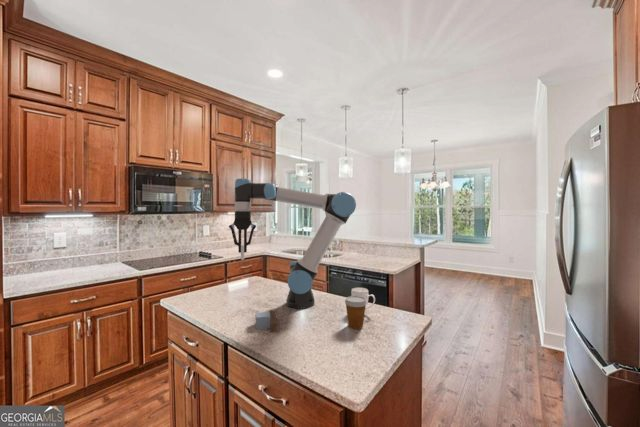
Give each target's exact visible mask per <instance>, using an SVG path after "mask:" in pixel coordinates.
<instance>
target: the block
mask: <svg viewBox="0 0 640 427" xmlns="http://www.w3.org/2000/svg"><path fill="white" fill-rule="evenodd" d="M261 328H262V329H263V328H264V329H270V312H269V311H261V312H260V311H259V312H255V330H262V329H261Z"/></svg>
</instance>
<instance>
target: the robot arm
mask: <svg viewBox="0 0 640 427" xmlns="http://www.w3.org/2000/svg"><path fill="white" fill-rule="evenodd" d="M234 181H235V182H234V210H235V211H234V221H233V223H232V224H230V225H229V226H228V227H229V229H230V231H231V234H232V238H233V242H234V245H235V246H237V248H238V249H237V250H238V253H240V260H241V261H242V260H243V261H244V260H245V253H247V252H248V251H247V250H248V246H249V245H251V243H252V238H253V235H254V230H255V229H256V227H257V225H256V224H254V223H252V222H253V221H252V216H251V214H252V212H251V208H252V205H251V204H252V202H251V201H252V200H254V199H256V200H257V199H258V200H260V199H261V200H266V201H272V202H278V203H284V204H285V203H286V204H291V205H297V206H302V207H310V208H314V209H315V208H316V209H321V210H322V211H323V212H324V213H325V217H324V219H323V221H322V223H321V225H320V226H319V229H318V230H317V232H316V233H315V235H314V237H313V238H312V240H311V242H310V244H309V245H308V248H307V249H306V251H305V252H304V255H303V257H302V258H301V259H298V260H293V261H291V262H289V274H288V277H287V280H286V281H287V286H288V288H289V291H288V294H287V297H286V303H285V304H286V306H287V307H289V308H293V309H308V308H311V307H313V306H314V305H315V304H316V303H315V297H314V293H313V290H312V286H313V282H314V280H315V278H316V276H317V274H318V273H319V271H318V266H319V265H320V263H321V261H322V260H323V258H324V257H325V255H326V252H327V251H328V249H329V247H330V245H331V243H332V242H333V241H334V238H335V237H336V235H337V233H338V231H339V230H340V228H341V226H343V225H346V223H348V220H349V218H350V217H351V216H352V215H353V213H355V211H356V207H357V202H356V199H355V197H354V196H353V195H352V194H351V193H349V192H347V191H340V192H337V193H336V194H335V193H325V194H321V193H315V192H314V193H313V192H311V191H310V192H308V191H303V190H295V189H291V188H284V187H279V186H276V184H275V183H271V182H267V183H265V182H264V183H262V182H260V183H259V182H257V183H256V182H252V180H251V178H236V179H235V180H234ZM235 227H236V229H237V230H238V239H237V235H236V232H235ZM249 228H251V230H250V233H249V238H248V237H247V234H248V229H249ZM242 230H243V245H242Z"/></svg>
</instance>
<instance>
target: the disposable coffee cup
mask: <svg viewBox="0 0 640 427" xmlns="http://www.w3.org/2000/svg"><path fill="white" fill-rule="evenodd" d="M344 302H345V308H346V316H347V325H348V328H349V329H353V330H359V329H363V327H364V321H365V320H364V319H365V313H366V310H365V306H366V304H367V302H366V299H365V298H363V297H360V296H351V295H350V296H346V298H345V300H344ZM367 305H368V304H367Z"/></svg>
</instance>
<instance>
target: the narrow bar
mask: <svg viewBox="0 0 640 427" xmlns="http://www.w3.org/2000/svg"><path fill="white" fill-rule="evenodd" d="M268 312H270V328H269V329H270V333H278V332H279V320H278V315H277V311H276V309H272V310H268Z"/></svg>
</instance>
